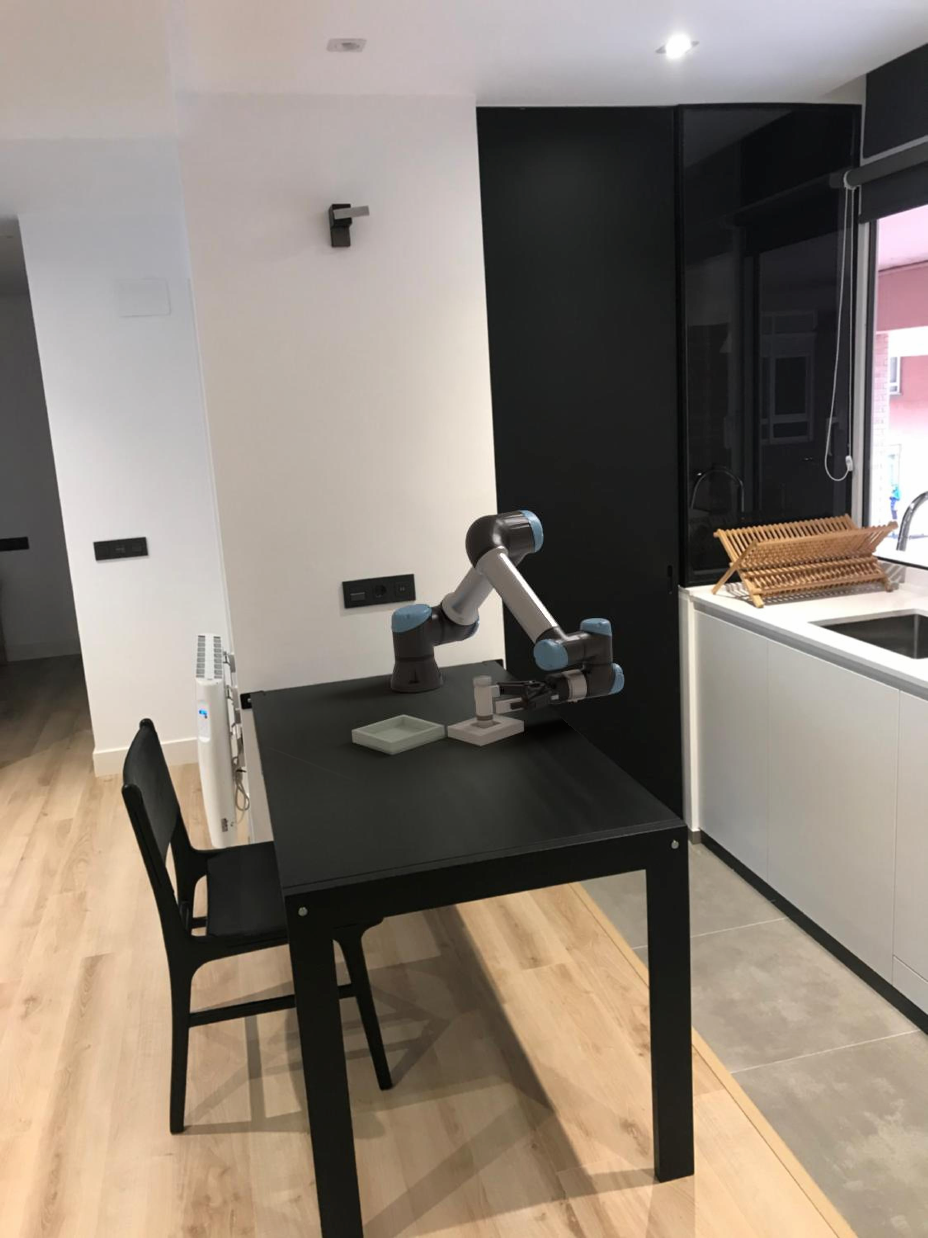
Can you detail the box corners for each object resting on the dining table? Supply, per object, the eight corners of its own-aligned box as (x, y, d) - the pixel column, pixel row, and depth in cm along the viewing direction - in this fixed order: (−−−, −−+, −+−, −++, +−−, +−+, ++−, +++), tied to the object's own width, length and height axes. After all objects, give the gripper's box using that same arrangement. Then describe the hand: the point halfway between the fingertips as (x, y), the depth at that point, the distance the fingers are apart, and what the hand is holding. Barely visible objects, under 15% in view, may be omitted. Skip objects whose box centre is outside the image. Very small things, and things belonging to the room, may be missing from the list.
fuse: (486, 730, 247) (482, 674, 244) (498, 733, 243) (495, 677, 241) (473, 734, 244) (469, 678, 241) (485, 737, 241) (481, 681, 238)
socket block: (490, 722, 253) (489, 712, 252) (524, 731, 244) (523, 721, 243) (448, 736, 244) (447, 726, 243) (481, 746, 235) (480, 735, 234)
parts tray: (404, 725, 255) (403, 714, 254) (445, 737, 243) (444, 725, 242) (352, 742, 245) (351, 730, 244) (392, 755, 233) (391, 742, 232)
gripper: (589, 713, 238) (507, 729, 231) (543, 690, 261) (467, 704, 254) (587, 683, 237) (505, 698, 230) (541, 662, 260) (465, 675, 252)
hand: (485, 701), depth 242 cm, fingers open, 13 cm apart
